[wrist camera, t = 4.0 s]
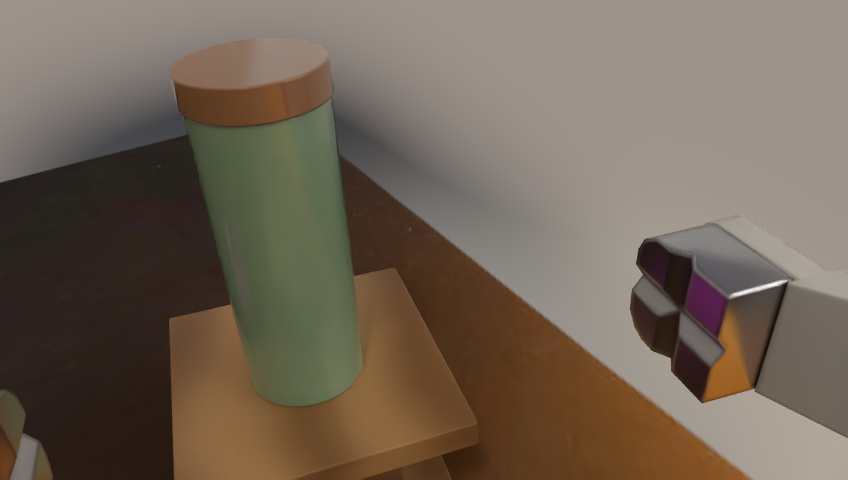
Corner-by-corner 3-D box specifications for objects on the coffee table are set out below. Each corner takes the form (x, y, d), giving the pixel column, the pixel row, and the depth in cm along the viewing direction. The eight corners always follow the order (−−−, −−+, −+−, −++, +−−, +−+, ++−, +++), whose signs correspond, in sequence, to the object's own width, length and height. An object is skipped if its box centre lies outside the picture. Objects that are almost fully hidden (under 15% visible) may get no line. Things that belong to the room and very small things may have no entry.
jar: (351, 315, 31) (313, 30, 24) (380, 389, 27) (345, 72, 20) (240, 342, 30) (167, 49, 23) (254, 423, 26) (170, 99, 19)
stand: (402, 355, 37) (395, 266, 34) (479, 521, 29) (478, 422, 25) (197, 408, 35) (168, 318, 32) (212, 610, 26) (174, 513, 23)
